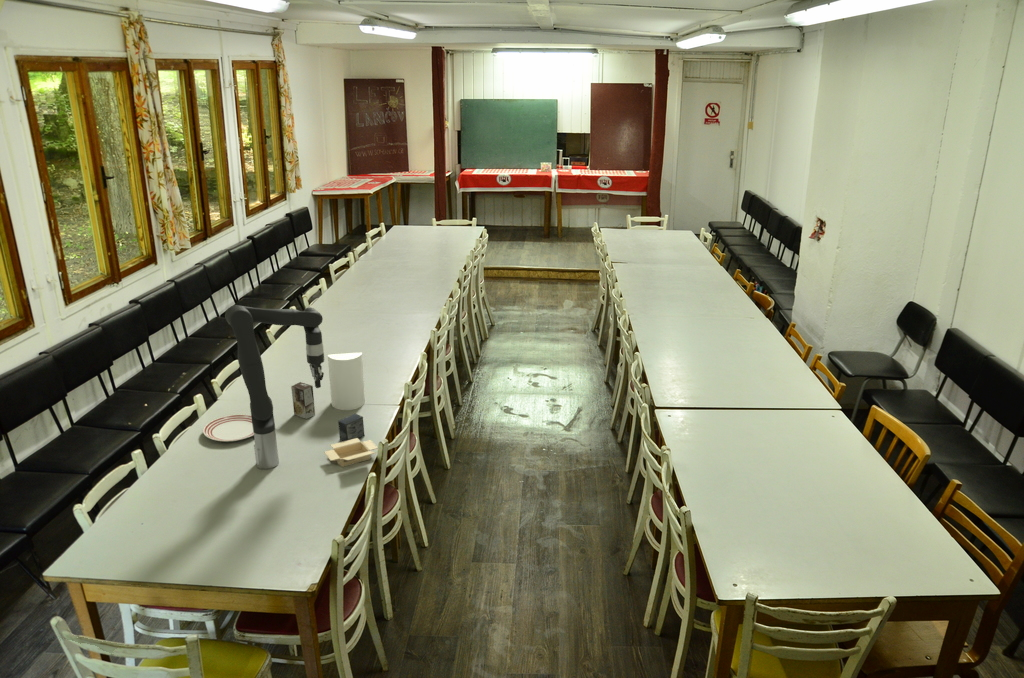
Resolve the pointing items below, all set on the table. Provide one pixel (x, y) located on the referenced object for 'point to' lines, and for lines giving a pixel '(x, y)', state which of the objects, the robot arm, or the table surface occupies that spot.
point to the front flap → (358, 455)
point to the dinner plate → (230, 428)
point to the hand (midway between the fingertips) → (318, 387)
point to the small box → (351, 427)
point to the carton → (350, 451)
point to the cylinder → (346, 380)
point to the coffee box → (303, 400)
